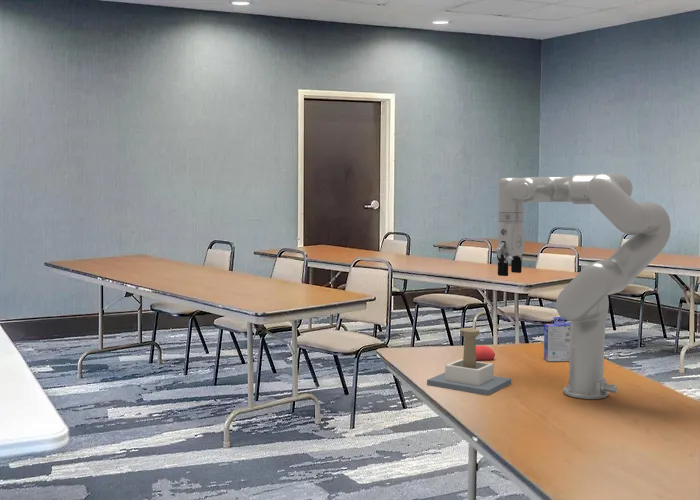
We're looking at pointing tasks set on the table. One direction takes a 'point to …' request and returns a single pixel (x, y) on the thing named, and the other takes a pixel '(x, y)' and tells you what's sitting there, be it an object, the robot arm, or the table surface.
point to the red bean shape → (484, 353)
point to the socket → (470, 378)
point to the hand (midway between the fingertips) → (509, 274)
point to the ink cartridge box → (557, 340)
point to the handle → (469, 347)
